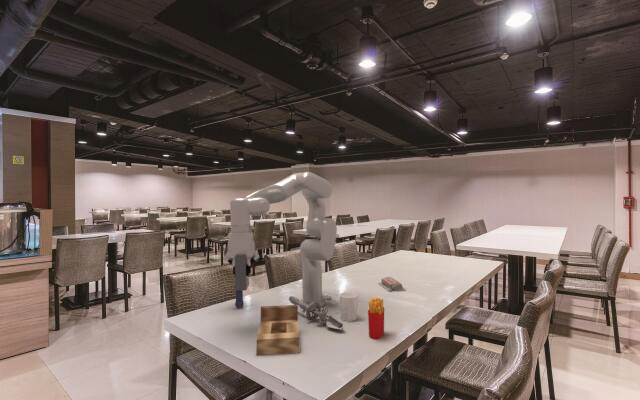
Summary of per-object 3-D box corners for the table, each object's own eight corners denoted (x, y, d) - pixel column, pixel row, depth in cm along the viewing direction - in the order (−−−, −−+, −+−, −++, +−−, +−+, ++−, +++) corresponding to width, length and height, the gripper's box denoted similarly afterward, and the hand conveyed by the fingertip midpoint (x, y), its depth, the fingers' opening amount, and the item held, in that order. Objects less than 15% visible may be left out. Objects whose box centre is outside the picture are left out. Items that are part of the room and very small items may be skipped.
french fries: (376, 340, 112) (376, 304, 112) (365, 338, 114) (365, 302, 114) (387, 332, 119) (386, 297, 119) (376, 329, 122) (376, 295, 122)
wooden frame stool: (298, 330, 122) (297, 304, 122) (299, 352, 104) (299, 322, 104) (261, 332, 120) (261, 306, 120) (256, 355, 102) (256, 324, 102)
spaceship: (298, 291, 148) (285, 287, 143) (352, 318, 122) (339, 315, 117) (292, 307, 147) (279, 304, 142) (345, 338, 121) (332, 336, 116)
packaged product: (405, 283, 174) (388, 284, 173) (405, 291, 174) (388, 292, 173) (393, 275, 192) (378, 276, 190) (394, 283, 192) (378, 284, 190)
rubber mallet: (230, 312, 143) (230, 246, 143) (223, 308, 148) (222, 245, 149) (254, 306, 151) (254, 244, 151) (247, 302, 157) (246, 242, 157)
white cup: (346, 323, 128) (345, 298, 129) (336, 317, 135) (335, 293, 136) (361, 319, 132) (361, 295, 132) (351, 314, 139) (351, 291, 139)
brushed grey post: (248, 284, 128) (247, 252, 128) (246, 290, 120) (245, 256, 120) (238, 285, 128) (237, 253, 128) (235, 290, 120) (234, 256, 120)
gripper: (262, 227, 129) (264, 272, 129) (221, 229, 127) (222, 274, 127) (261, 229, 121) (262, 276, 121) (216, 231, 119) (218, 279, 119)
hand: (242, 275), depth 124 cm, fingers closed on brushed grey post, 4 cm apart
